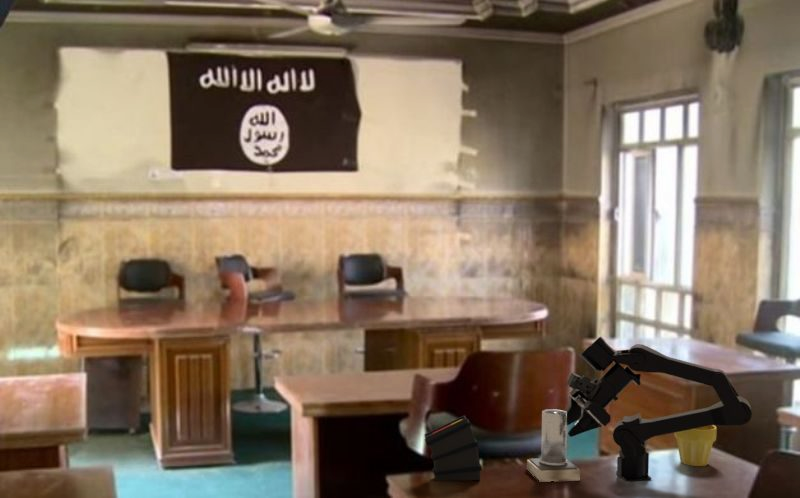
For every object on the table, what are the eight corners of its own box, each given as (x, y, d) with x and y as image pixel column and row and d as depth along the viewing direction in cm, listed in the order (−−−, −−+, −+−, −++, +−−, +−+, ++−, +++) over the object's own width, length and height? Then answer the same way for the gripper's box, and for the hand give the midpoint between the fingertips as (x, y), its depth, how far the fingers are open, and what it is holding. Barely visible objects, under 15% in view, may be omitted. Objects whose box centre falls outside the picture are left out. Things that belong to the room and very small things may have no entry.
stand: (565, 468, 226) (565, 456, 226) (579, 480, 216) (580, 468, 216) (526, 470, 224) (527, 458, 224) (539, 482, 214) (539, 469, 214)
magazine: (494, 474, 215) (467, 417, 214) (444, 498, 214) (417, 442, 213) (491, 469, 218) (465, 414, 217) (442, 493, 218) (416, 438, 217)
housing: (562, 458, 224) (563, 408, 223) (571, 466, 217) (572, 414, 217) (535, 459, 223) (536, 409, 222) (544, 467, 216) (545, 415, 216)
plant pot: (716, 459, 236) (717, 422, 235) (714, 470, 226) (715, 431, 226) (675, 455, 239) (675, 418, 239) (671, 465, 230) (672, 427, 229)
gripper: (578, 355, 228) (534, 399, 228) (597, 368, 210) (549, 416, 210) (608, 386, 229) (565, 430, 229) (630, 402, 210) (583, 449, 210)
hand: (564, 430), depth 220 cm, fingers open, 9 cm apart
